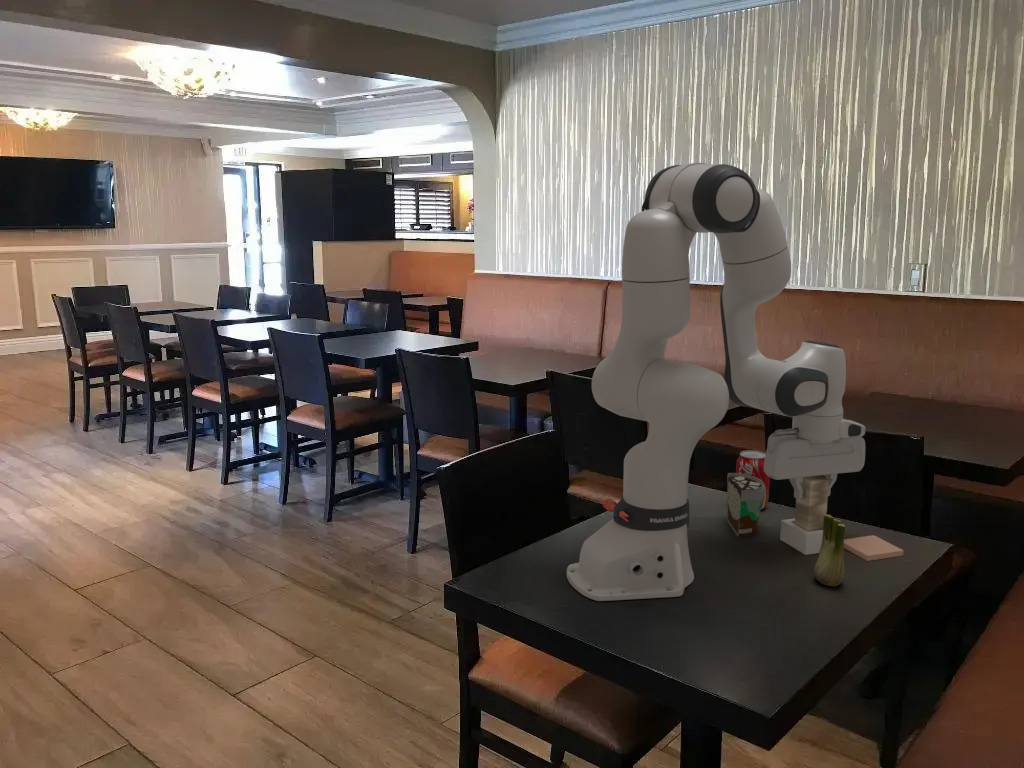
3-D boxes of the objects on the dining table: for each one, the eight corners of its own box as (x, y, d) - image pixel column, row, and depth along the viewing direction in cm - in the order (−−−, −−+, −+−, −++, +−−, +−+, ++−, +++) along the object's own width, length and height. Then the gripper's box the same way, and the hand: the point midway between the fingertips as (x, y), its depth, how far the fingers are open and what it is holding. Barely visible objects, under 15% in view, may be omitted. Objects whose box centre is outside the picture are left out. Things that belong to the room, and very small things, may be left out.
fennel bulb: (844, 591, 145) (849, 524, 142) (813, 588, 146) (818, 522, 144) (842, 577, 150) (846, 513, 148) (812, 574, 152) (816, 510, 149)
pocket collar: (805, 554, 160) (806, 534, 159) (780, 539, 167) (781, 520, 167) (841, 549, 162) (842, 529, 161) (814, 534, 170) (816, 515, 169)
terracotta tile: (867, 561, 157) (867, 555, 157) (838, 545, 164) (839, 540, 164) (903, 555, 159) (903, 550, 159) (873, 539, 167) (873, 535, 167)
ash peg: (807, 532, 162) (810, 481, 160) (794, 525, 165) (797, 475, 163) (825, 529, 163) (829, 479, 161) (812, 522, 166) (815, 473, 165)
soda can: (771, 512, 182) (774, 458, 180) (738, 512, 182) (741, 458, 180) (763, 501, 189) (765, 449, 187) (731, 501, 189) (733, 449, 187)
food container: (771, 539, 167) (774, 491, 165) (740, 540, 168) (742, 491, 166) (754, 517, 180) (756, 471, 178) (725, 517, 180) (727, 472, 178)
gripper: (779, 434, 154) (774, 507, 157) (873, 426, 160) (867, 496, 163) (759, 426, 160) (755, 497, 163) (850, 419, 166) (845, 487, 169)
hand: (811, 496), depth 163 cm, fingers closed on ash peg, 4 cm apart
